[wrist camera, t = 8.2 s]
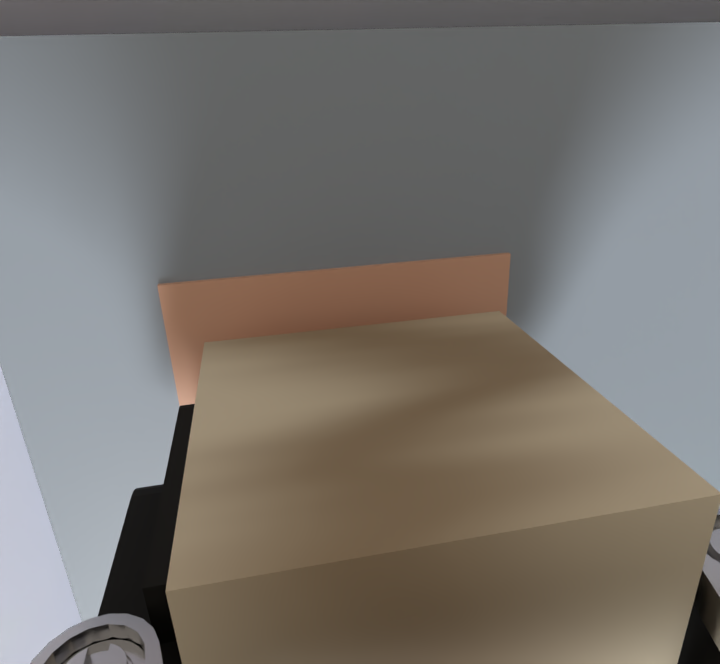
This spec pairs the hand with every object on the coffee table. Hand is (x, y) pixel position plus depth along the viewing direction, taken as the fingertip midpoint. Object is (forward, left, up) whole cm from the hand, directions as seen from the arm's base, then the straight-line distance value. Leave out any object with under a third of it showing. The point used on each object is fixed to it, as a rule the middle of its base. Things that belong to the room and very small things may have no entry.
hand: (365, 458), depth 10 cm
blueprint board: (-6, 0, -2) cm, 6 cm away
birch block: (0, 0, 0) cm, 0 cm away
